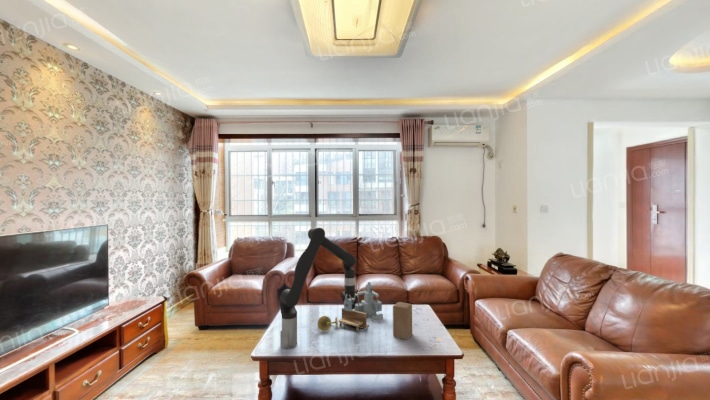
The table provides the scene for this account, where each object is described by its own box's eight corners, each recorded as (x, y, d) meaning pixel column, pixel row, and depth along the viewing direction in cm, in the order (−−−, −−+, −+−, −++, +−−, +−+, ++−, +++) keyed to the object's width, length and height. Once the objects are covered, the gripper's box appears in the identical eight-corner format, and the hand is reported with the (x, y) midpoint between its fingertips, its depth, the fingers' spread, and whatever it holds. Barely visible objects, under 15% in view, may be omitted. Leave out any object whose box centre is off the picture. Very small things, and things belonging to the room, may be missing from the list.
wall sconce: (335, 315, 208) (339, 313, 185) (336, 329, 204) (341, 329, 182) (316, 317, 205) (318, 316, 183) (316, 331, 201) (319, 332, 179)
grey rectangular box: (349, 311, 194) (349, 302, 194) (343, 310, 197) (343, 301, 197) (355, 308, 200) (355, 299, 201) (349, 306, 203) (349, 298, 203)
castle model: (352, 314, 222) (352, 282, 222) (371, 311, 229) (371, 279, 230) (362, 323, 206) (362, 288, 206) (383, 318, 213) (382, 285, 214)
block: (407, 340, 179) (407, 308, 179) (392, 336, 184) (392, 305, 185) (412, 334, 188) (412, 303, 188) (398, 330, 193) (398, 301, 193)
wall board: (360, 332, 191) (360, 317, 192) (336, 325, 202) (336, 311, 202) (368, 326, 201) (368, 311, 201) (345, 320, 212) (345, 306, 212)
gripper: (338, 283, 200) (338, 308, 200) (355, 286, 192) (355, 312, 192) (344, 281, 206) (344, 304, 206) (361, 283, 198) (361, 308, 198)
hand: (349, 308), depth 199 cm, fingers closed on grey rectangular box, 5 cm apart
